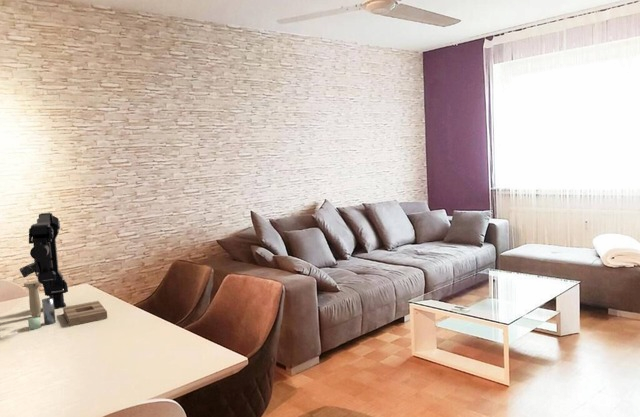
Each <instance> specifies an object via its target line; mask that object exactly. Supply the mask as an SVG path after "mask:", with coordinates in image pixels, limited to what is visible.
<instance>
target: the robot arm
mask: <svg viewBox="0 0 640 417" xmlns="http://www.w3.org/2000/svg"><path fill="white" fill-rule="evenodd" d="M60 230H61V224H60V219H59V218H58V217H57V216H55V215H53V213H51V212H43V213H38V218H37V219H36V223H32V225H30V228H29V229H28V244H29V245H30V244H31V245H32V244H33V246H32V248H30V251H29V254H30V257H31V258H32V259H33V261H34V262H31V263H29V264H27V265H25V266H23V267H20V268H19V272H20V273H21V276H22V277H23V278H27V277H28V276H29V275H32V274H35V276H36V277H37V281H38V282H39V283H41V285H42V288H43V293H44V296H46V297H48V298H53V301H54V309H60V308H63V307H67V304H66V302H65V298H64V297H65V296H64V294H66V293H68V292H69V288H68V283H67V282H66V279H64V275H63V274H62V272H60V269H59V259H58V250H57V237H58V235H59V234H60Z"/></svg>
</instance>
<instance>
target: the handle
mask: <svg viewBox="0 0 640 417" xmlns="http://www.w3.org/2000/svg"><path fill="white" fill-rule="evenodd" d="M41 285H42V284H41V283H39V282H38V280H33V281H26V282H24V283H23V287H24V288H27V289H28V298H29V301H28V302H29V303H28V304H29V310H30V314H31V315H30V316H31V318H32V317H41V314H42V313H41V311H42V310H41V309H42V306H41V304H42V303H41V299H40V293H39V286H41Z"/></svg>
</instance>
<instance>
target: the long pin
mask: <svg viewBox="0 0 640 417" xmlns="http://www.w3.org/2000/svg"><path fill="white" fill-rule="evenodd" d="M41 302H42V303H41V304H42V306H41V307H42V312H43V314H42V315H43V324H44V325H46V326H47V325H48V326H50V325H53V324H56V322H57V320H56V314H55V313H56V311H55V308H54V301H53V298H49V297H46V298H42V299H41Z"/></svg>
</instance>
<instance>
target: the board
mask: <svg viewBox="0 0 640 417" xmlns="http://www.w3.org/2000/svg"><path fill="white" fill-rule="evenodd" d="M62 310H63V315H64V317H65V319H66V321H67V324H68V326H69V327H73V326H77V325H81V324H82V325H83V324H86V323H91V322H96V321H101V320H107V319H108V312H107V310H106V308H105V307H104V306H103V305H102V303H101V302H100V301H99V300H95V301H91V302H90V301H89V302H84V303H78V304H74V305H68V306H67V305H66V306H65V307H62Z"/></svg>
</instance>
